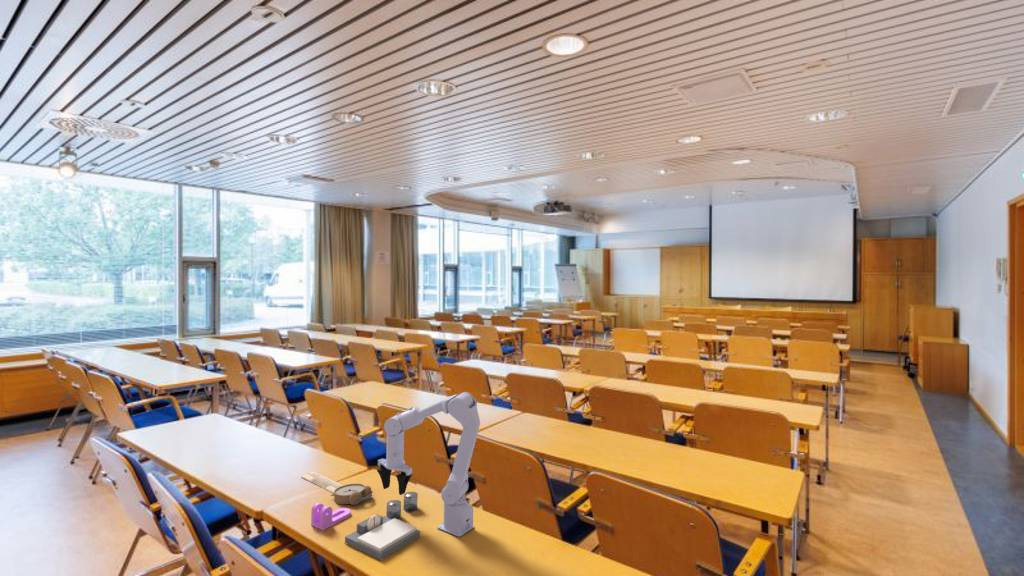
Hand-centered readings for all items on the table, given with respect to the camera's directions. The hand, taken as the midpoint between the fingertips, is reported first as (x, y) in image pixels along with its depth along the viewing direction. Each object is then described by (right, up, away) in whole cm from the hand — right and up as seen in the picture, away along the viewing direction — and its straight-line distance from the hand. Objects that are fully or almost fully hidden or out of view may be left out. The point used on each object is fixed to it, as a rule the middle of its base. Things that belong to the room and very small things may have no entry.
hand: (394, 490), depth 167 cm
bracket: (-20, -9, -3) cm, 22 cm away
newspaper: (-34, -9, +25) cm, 43 cm away
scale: (0, -9, -14) cm, 17 cm away
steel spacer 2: (+4, -9, +7) cm, 12 cm away
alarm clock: (-18, -9, +13) cm, 24 cm away
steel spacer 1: (0, -9, 0) cm, 9 cm away
